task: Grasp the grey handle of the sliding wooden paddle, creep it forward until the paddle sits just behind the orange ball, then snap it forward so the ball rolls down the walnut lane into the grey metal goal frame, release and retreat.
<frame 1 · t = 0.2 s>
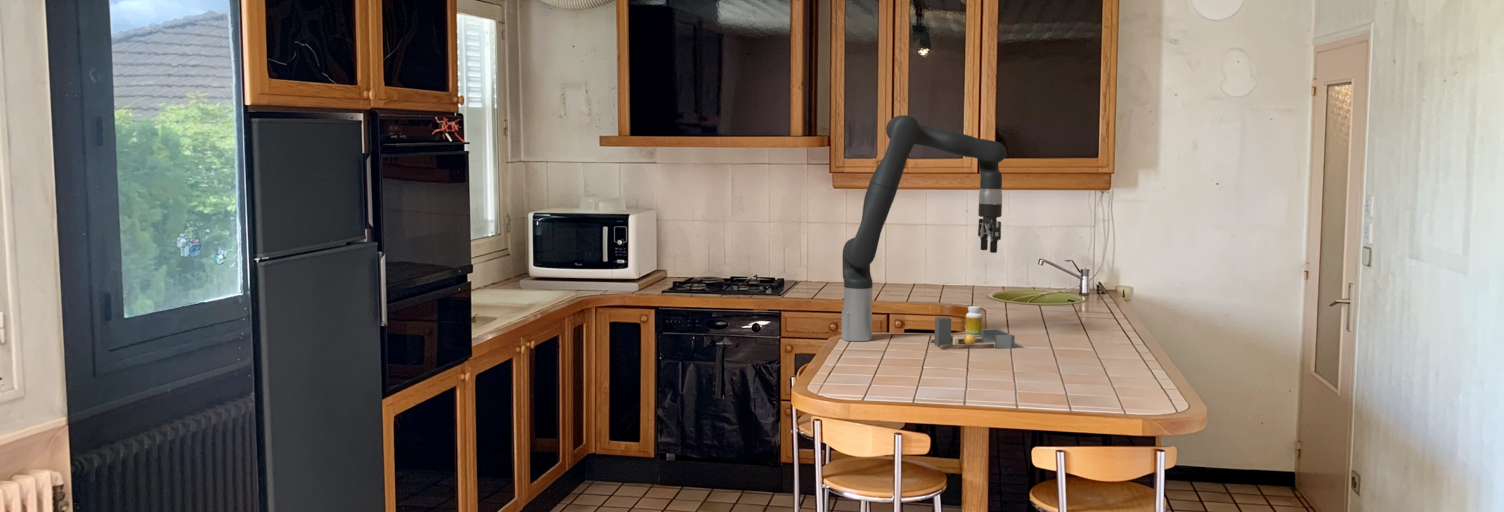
hand: (988, 251, 383), 29 cm above the table, fingers open, 8 cm apart
goal: (997, 344, 371), on the table
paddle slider: (945, 331, 368), point 5 cm above the table, slide at 0.0 cm
lane: (961, 345, 369), on the table
ball: (969, 339, 370), point 2 cm above the table
supplement bottle: (973, 336, 389), on the table
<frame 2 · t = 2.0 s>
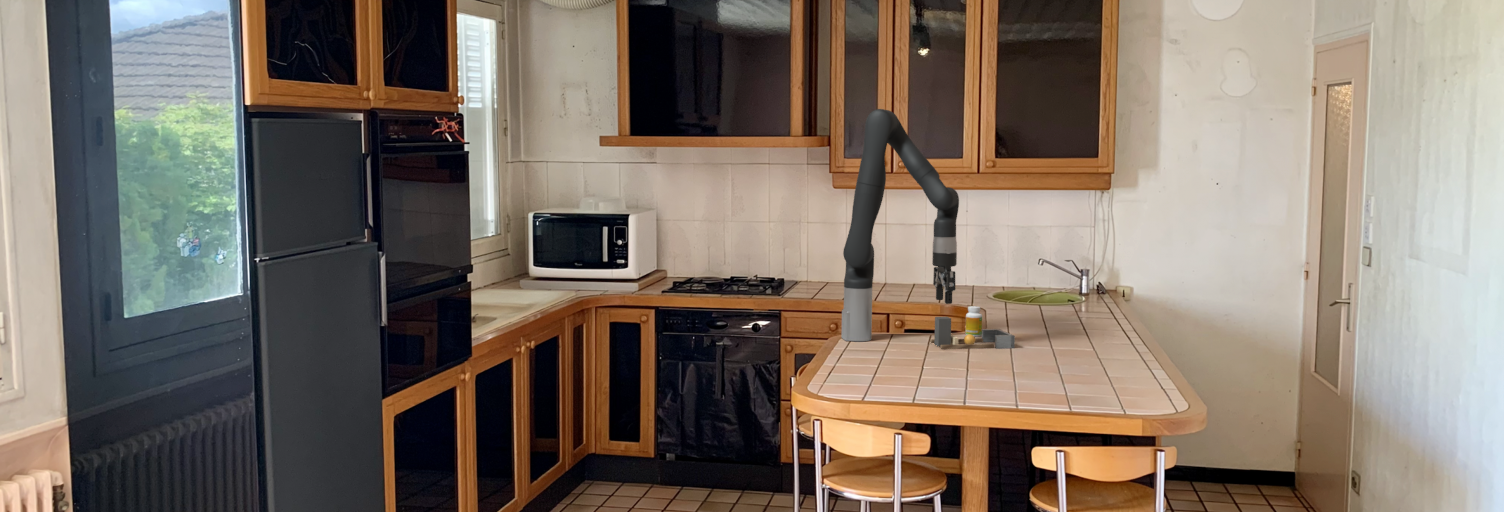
hand: (943, 301, 367), 14 cm above the table, fingers open, 8 cm apart
nothing on the table moved.
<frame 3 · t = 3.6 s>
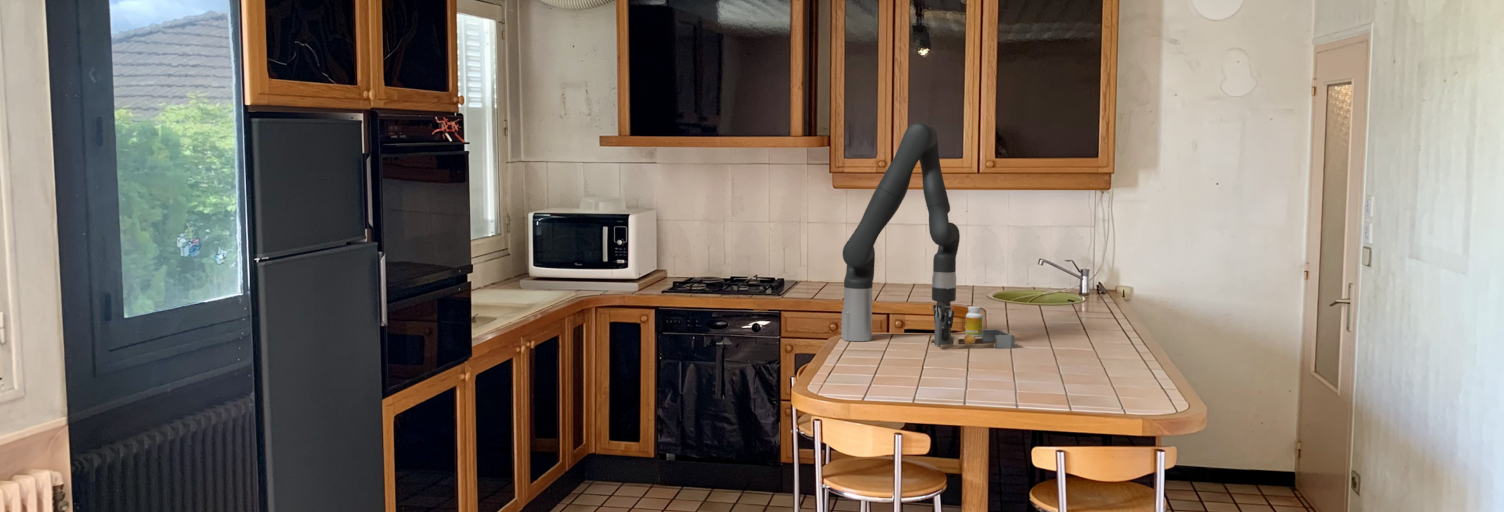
hand: (942, 339, 368), 2 cm above the table, fingers closed on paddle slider, 4 cm apart
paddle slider: (945, 331, 368), point 5 cm above the table, slide at 0.0 cm, touching gripper
everything else where it was.
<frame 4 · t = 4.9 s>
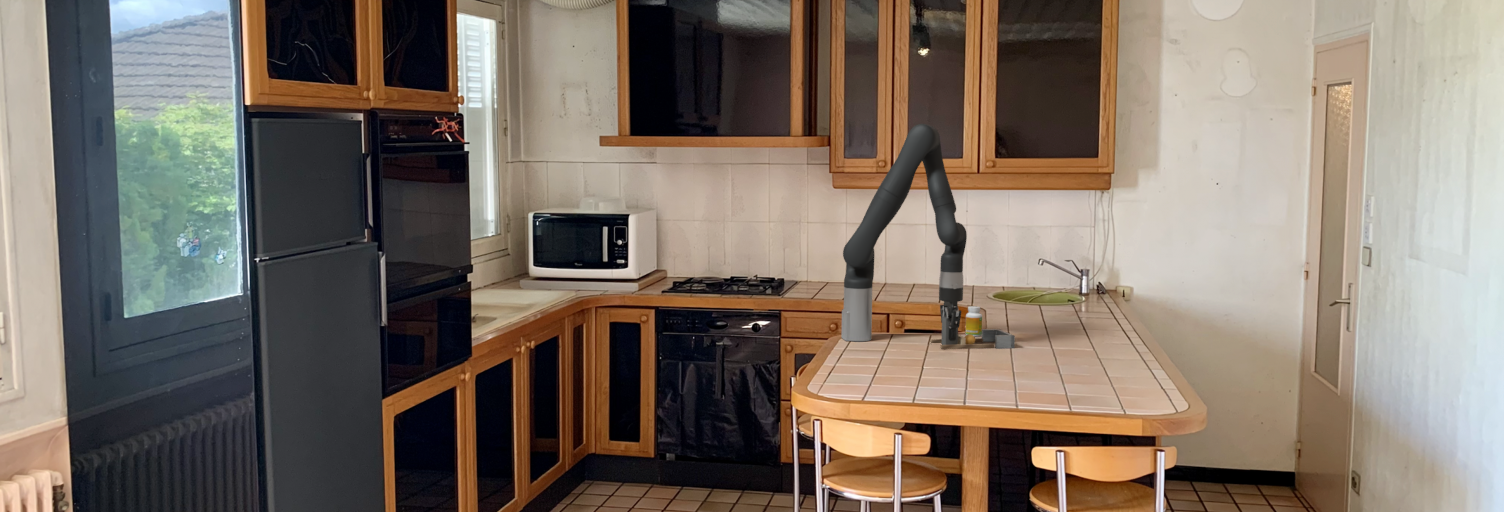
hand: (949, 338, 368), 2 cm above the table, fingers closed on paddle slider, 4 cm apart
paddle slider: (952, 331, 368), point 5 cm above the table, slide at 2.4 cm, touching gripper
everything else where it was.
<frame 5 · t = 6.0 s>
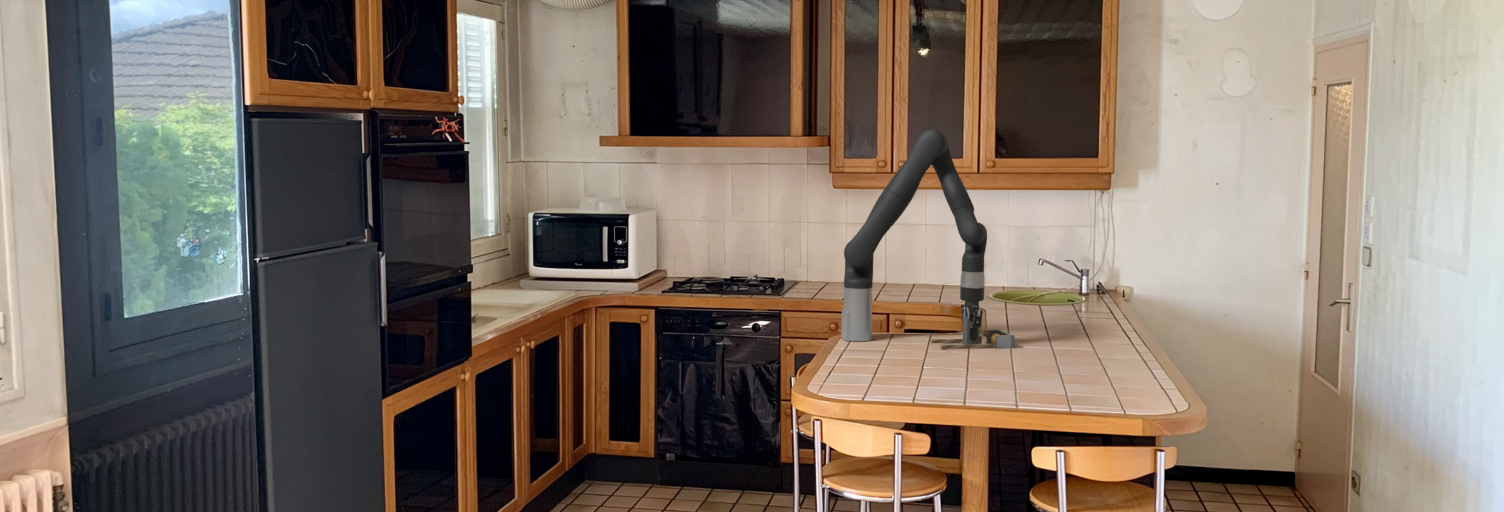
hand: (970, 338, 370), 2 cm above the table, fingers closed on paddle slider, 4 cm apart
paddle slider: (973, 331, 369), point 5 cm above the table, slide at 9.4 cm, touching gripper
ball: (996, 339, 371), point 2 cm above the table, tilted 78°
everything else where it was.
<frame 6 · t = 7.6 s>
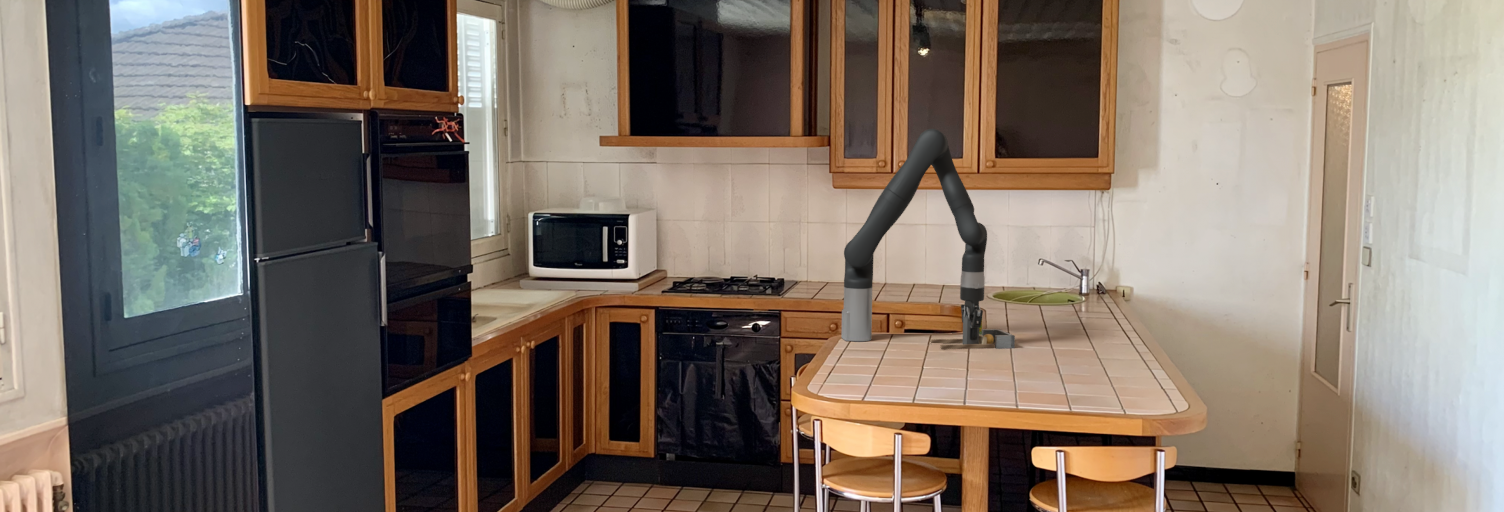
hand: (970, 338, 370), 2 cm above the table, fingers closed on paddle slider, 4 cm apart
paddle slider: (973, 331, 369), point 5 cm above the table, slide at 9.4 cm, touching gripper
ball: (988, 339, 371), point 2 cm above the table, tilted 167°
everything else where it was.
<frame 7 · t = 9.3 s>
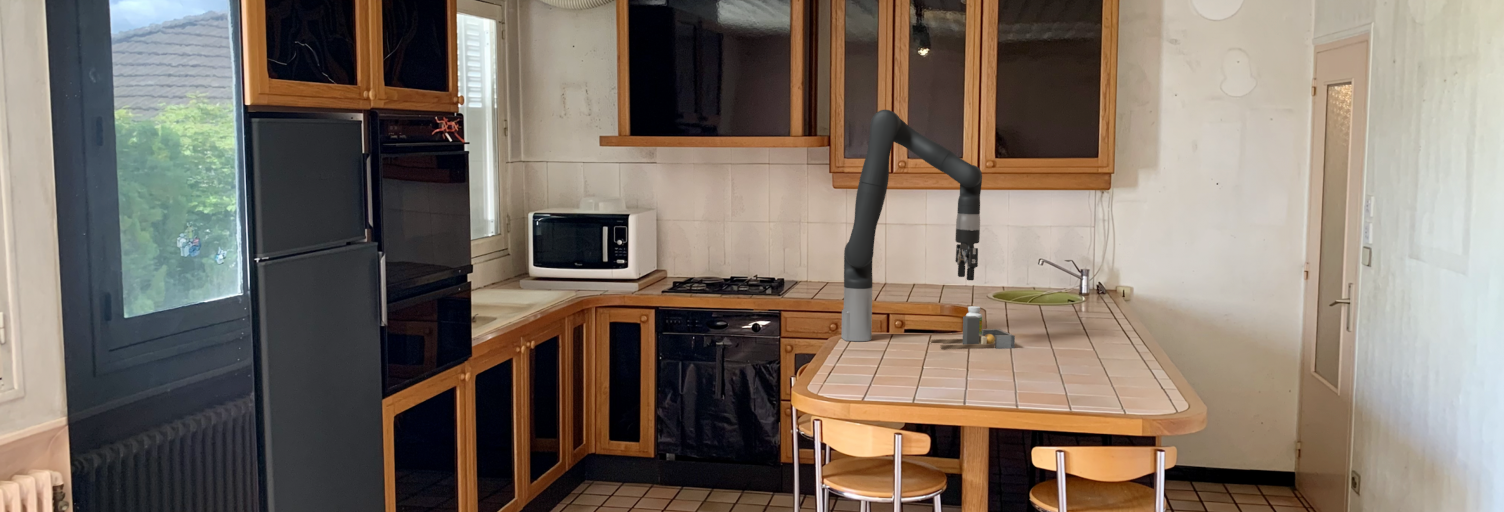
hand: (965, 278, 369), 21 cm above the table, fingers open, 8 cm apart
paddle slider: (974, 331, 370), point 5 cm above the table, slide at 9.4 cm
ball: (989, 339, 371), point 2 cm above the table, tilted 156°
everything else where it was.
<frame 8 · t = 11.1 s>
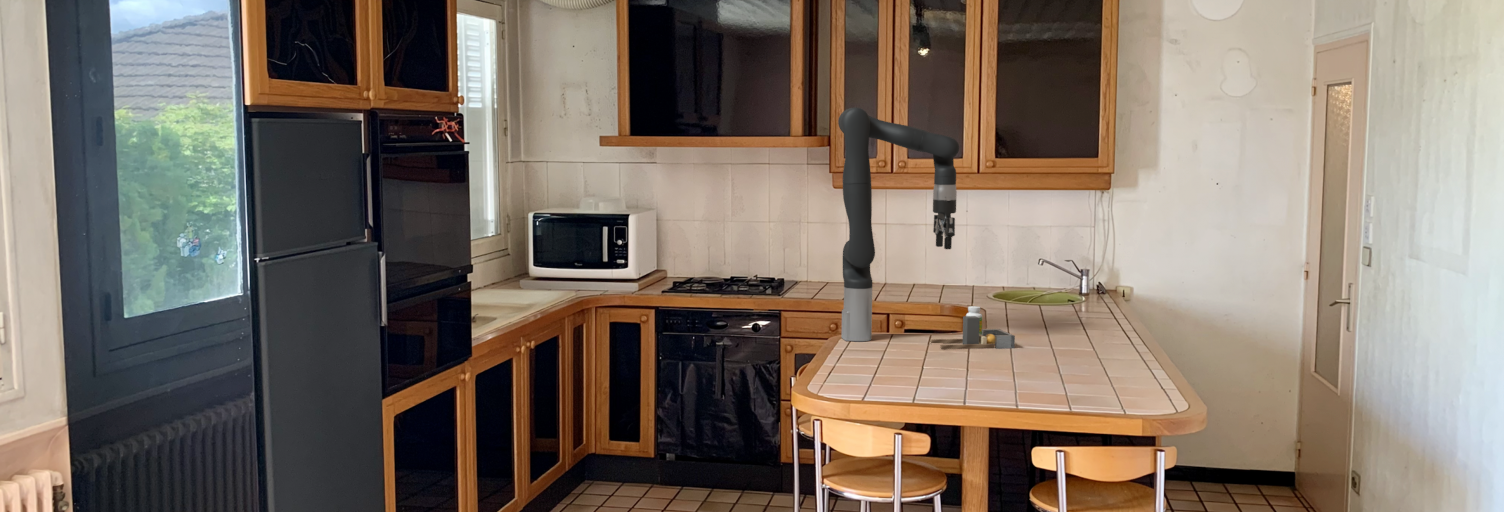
hand: (943, 247, 379), 30 cm above the table, fingers open, 8 cm apart
ball: (990, 339, 371), point 2 cm above the table, tilted 145°
everything else where it was.
at the end: ball inside the target area on the goal (1.8 cm from its centre), point 1.8 cm above the goal's base; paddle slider slide at 9.4 cm; the gripper is holding nothing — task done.
